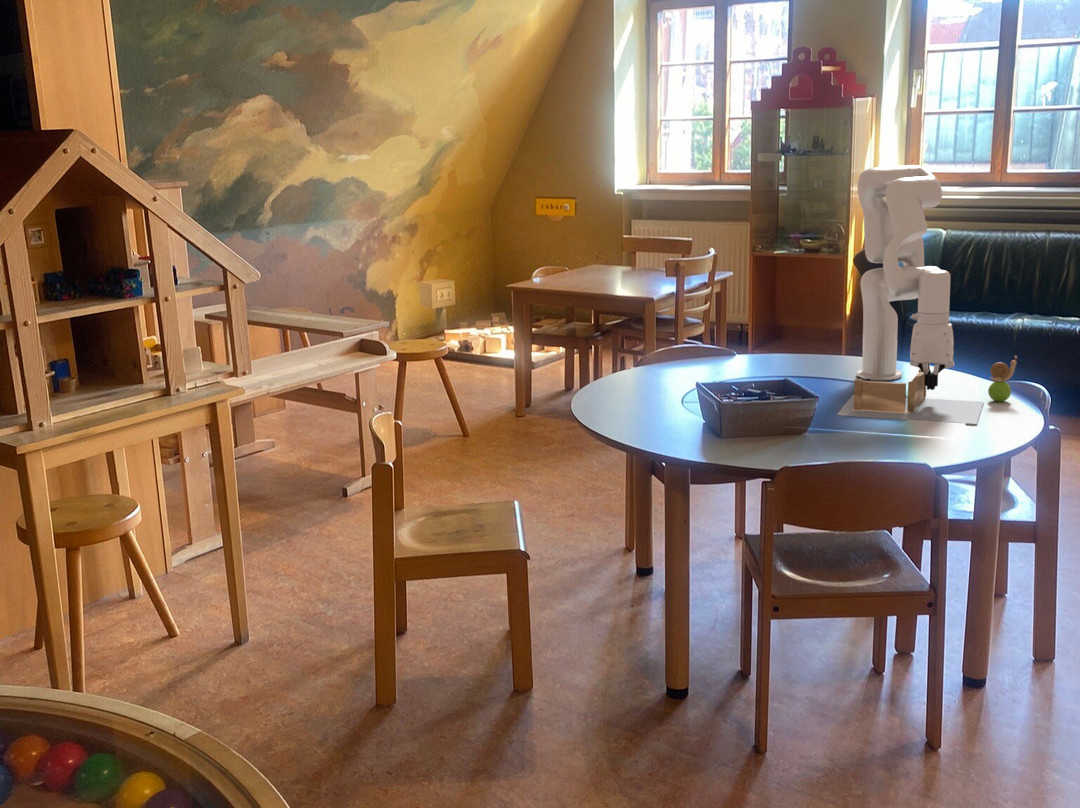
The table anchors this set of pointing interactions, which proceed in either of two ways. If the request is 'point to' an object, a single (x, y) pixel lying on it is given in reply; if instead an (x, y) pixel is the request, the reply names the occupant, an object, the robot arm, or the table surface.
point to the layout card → (925, 411)
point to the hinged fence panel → (916, 391)
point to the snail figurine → (1001, 381)
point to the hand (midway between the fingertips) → (931, 388)
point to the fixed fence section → (879, 396)
